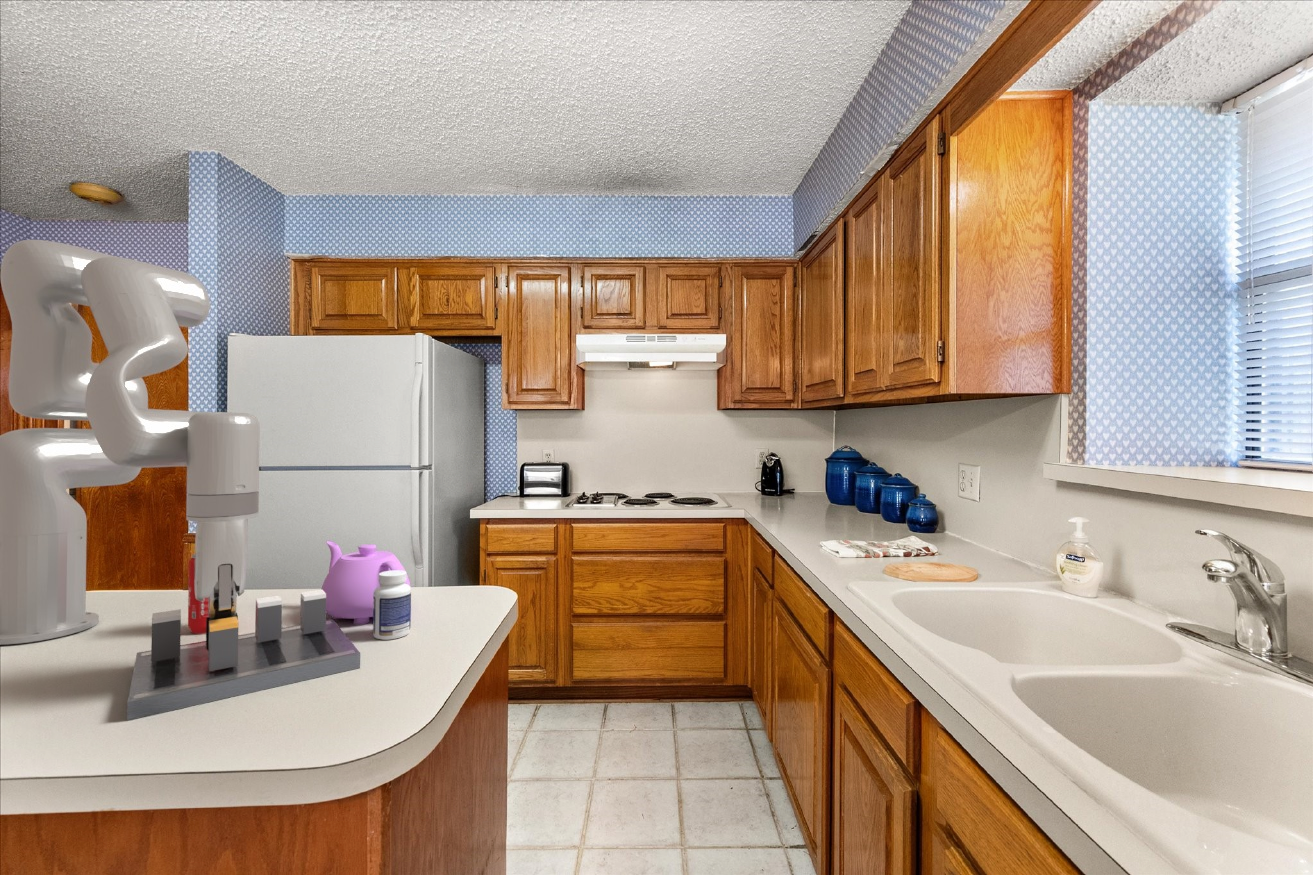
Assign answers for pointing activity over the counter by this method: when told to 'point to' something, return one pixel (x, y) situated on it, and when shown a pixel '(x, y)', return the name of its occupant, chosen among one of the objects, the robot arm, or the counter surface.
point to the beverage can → (196, 604)
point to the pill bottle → (392, 606)
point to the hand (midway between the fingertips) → (221, 646)
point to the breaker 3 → (313, 611)
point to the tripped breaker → (223, 643)
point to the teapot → (356, 581)
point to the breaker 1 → (166, 635)
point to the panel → (237, 669)
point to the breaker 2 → (268, 619)
